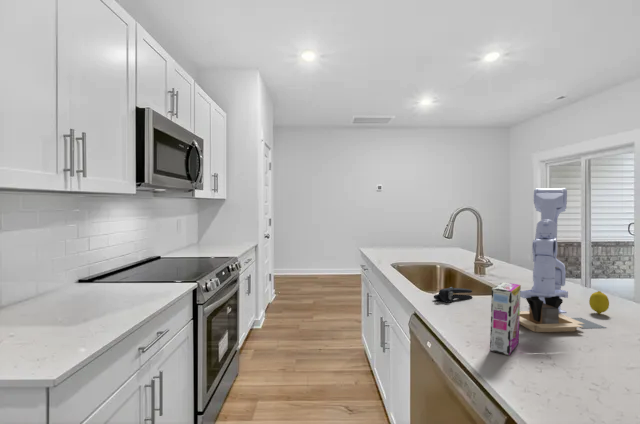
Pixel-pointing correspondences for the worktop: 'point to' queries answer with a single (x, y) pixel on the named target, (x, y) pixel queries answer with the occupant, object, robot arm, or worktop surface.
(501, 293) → the candy bar box
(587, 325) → the rubber mat
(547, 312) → the walnut box
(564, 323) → the carton
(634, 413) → the worktop surface
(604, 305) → the lemon
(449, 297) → the can opener
